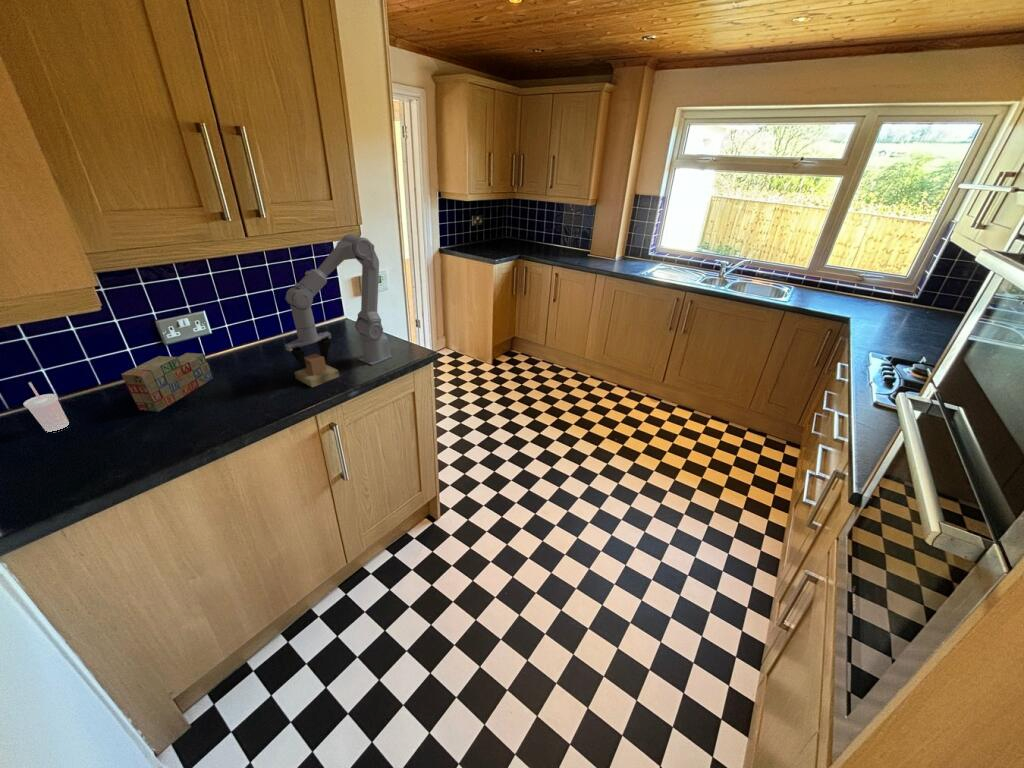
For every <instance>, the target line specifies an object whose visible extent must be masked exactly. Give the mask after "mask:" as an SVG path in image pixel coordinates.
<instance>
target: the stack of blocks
mask: <svg viewBox="0 0 1024 768" xmlns="http://www.w3.org/2000/svg"><path fill="white" fill-rule="evenodd" d="M213 376H214V375H213V373H212V371H211V368H210V365H209V363H208V362H207V359H206V357H205V354H204V353H197V352H196V353H195V352H186V353H184V354H182V355H180V356H163V355H162V356H161V355H158V356H156V357H153V358H152V359H150V360H148V361H146V362H143V363H141V364H139V365H138V366H135V367H133V368H131V369H129V370H126V371H125V372H123V373H121V377H122V379H123V380H124V383H125V385H126V388H127V389H128V391H129V394H130V395H131V396H132V398H133V400H134V403H135V405H136V406H137V408H138V410H139V411H142V410H144V412H157V413H159V412H160V411H162V410H164V409H165V408H167V407H169V406H172V404H175V403H176V402H177V401H179V400H180V399H182V398H184V397H185V396H186V395H188V394H190V393H191V392H193V391H195V390H197V389H198V388H199V387H201V386H203V385H206V383H209V382H210V381H212V380H213V379H214V377H213ZM196 388H197V389H196Z"/></svg>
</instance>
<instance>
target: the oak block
mask: <svg viewBox="0 0 1024 768" xmlns="http://www.w3.org/2000/svg"><path fill="white" fill-rule="evenodd" d="M326 369H327V370H326V371H324V372H321V373H318V374H316V375H312V374H310V373H308V372H306V371H305V369H303V368H302V369H299V370H297V371H294V376H295V380H298V381H299V382H301V383H303V384H305V385H307V386H309V387H311V388H314V387H317V386H319V385H322V384H324V383H326V382H330V381H332V380H334V379H338V378H340V373H339V370H338V369H337V368H335V367H332V366H331V365H328V364H326Z"/></svg>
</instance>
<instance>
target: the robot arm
mask: <svg viewBox="0 0 1024 768" xmlns="http://www.w3.org/2000/svg"><path fill="white" fill-rule="evenodd" d="M346 260H356V261H357V262H358V263H360V264H361V267H362V269H361V300H360V301H361V306H360V311H359V312H358V313H357V318H356V321H355V322H354V328H355V330H356V332H358V333H359V340H360V344H361V345H360V346H361V351H362V357H359V358H358V360H359V361H361V362H363V363H366V364H368V365H370V366H373V365H376V364H378V363H381V362H383V361H386V360H388V359H391V358H392V357H393V356H392V355H391V348H390V342H389V341H390V340H389V338H388V337H387V335H386V334H385V333H384V327H383V325H382V318H381V316H380V315H379V313H378V305H379V304H378V301H379V300H378V299H379V274H380V260H379V258H378V255H377V253H376V251H375V245H374V244H373V243H372V242H371V241H370V240H369V239H368V238H366V237H360V236H356V235H353V234H346V235H344V236H343V237H342V239H340V240H339V241H338V242H337V243H336V246H335V247H334V249H333V250H332V251H331V252H330V253H329V254H328V256H327V257H326V258H325V259H324V260H323V262H322V263H321V264H320V265H319V267H318V268H316V269H315V268H312V269H310V270H306V271H305V273H304V276H303V278H302V279H301V280H299V282H298V283H297V282H296V283H295V284H294V287H290V288H289V289H288V290H287V291H286V295H285V297H284V299H285V301H286V302H287V304H289V305H290V310H291V314H292V319H293V323H294V325H295V326H294V327H295V331H296V334H297V338H296V339H294V340H292V341H290V342H288V343H285V345H284V346H285V350H286V351H288V352H290V354H292V356H293V357H294V358H295V359H296V361H297V362H298V364H299V366H300V367H301V368H302V369H305V368H306V363H305V360H304V357H305V351H304V350H302V349H301V348H302V347H305V346H308V345H311V344H315V343H317V345H318V349H319V352H320V355H321V356H323V357H324V359H325V362H327V361H328V356H329V349H330V346H331V344H332V341H331V339H332V334H331V332H329V331H324V332H319V333H318V332H317V327H316V326H317V325H316V323H315V319H314V318H315V317H314V315H313V310H312V304H313V302H314V297H315V296H316V295H317V294H318V293H319V292H320V291H321V290H322V288H323V287H324V286H325V285H327V283H328V281H327V280H328V276H329V275H330V274H331V273H332V272H334V271H335V270H336V268H337V267H339V266H340V265H341V264H342V263H343V262H344V261H346Z"/></svg>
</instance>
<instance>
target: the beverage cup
mask: <svg viewBox="0 0 1024 768" xmlns="http://www.w3.org/2000/svg"><path fill="white" fill-rule="evenodd" d="M28 385H29V387H30V388H31V389H32V391H33V393H34V394H35V396H34V397H31V398H29V399H27V400H25V401H24V402H23V404H22V405H23V406H24V407H25V408H27V409H28V410H29V412H30V413H31V415H33V417H34V418H35V419H36V421H37V422H38V423H39V424H40V425H41V427H42V429H43V430H44V431H45V432H46V431H47V432H46V433H48V432H52V431H57V430H60V429H63V428H65V427H67V426H68V425H69V423H70V422H69V419H68V417H67V415H66V414H65V411H64V410H63V408H62V405H61V403H60V402H59V397H58V395H57V394H56V393H46V394H41V395H40V394H39V393H38V391H37V390H36V388H35V387H34V385H33V383H32V381H29V382H28ZM67 428H68V427H67Z"/></svg>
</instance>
